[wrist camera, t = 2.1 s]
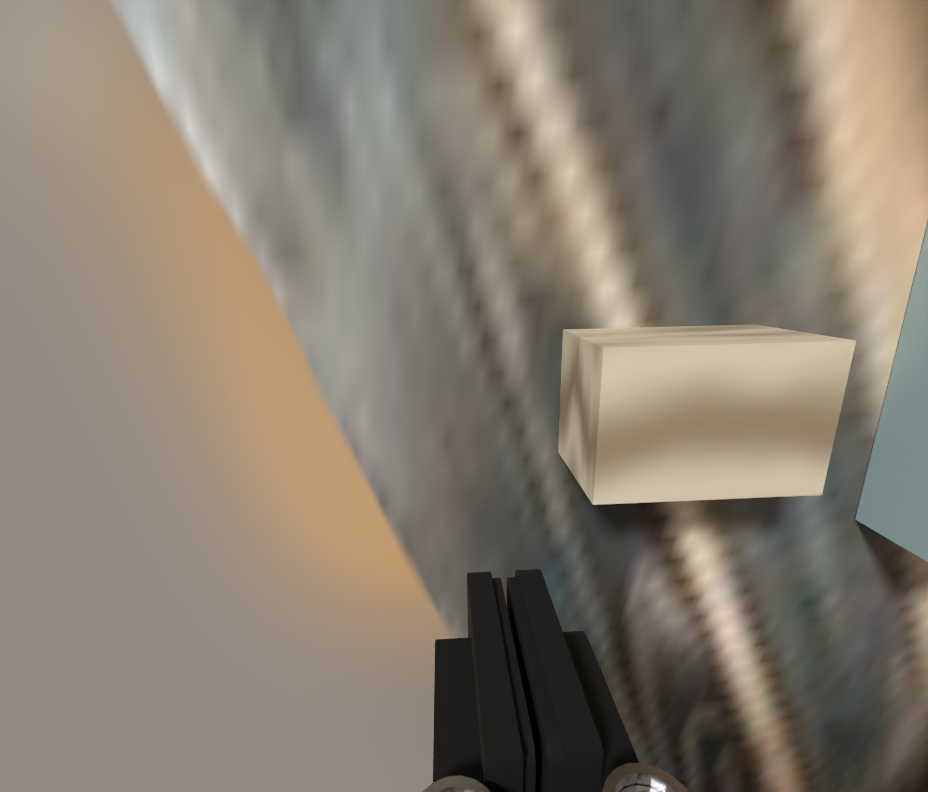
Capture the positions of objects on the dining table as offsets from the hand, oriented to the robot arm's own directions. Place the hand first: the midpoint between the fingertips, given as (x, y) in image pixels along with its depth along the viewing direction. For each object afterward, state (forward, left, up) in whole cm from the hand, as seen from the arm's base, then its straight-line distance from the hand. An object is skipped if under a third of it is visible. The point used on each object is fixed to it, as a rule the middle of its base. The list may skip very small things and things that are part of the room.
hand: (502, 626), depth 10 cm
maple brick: (0, +12, -18) cm, 22 cm away
